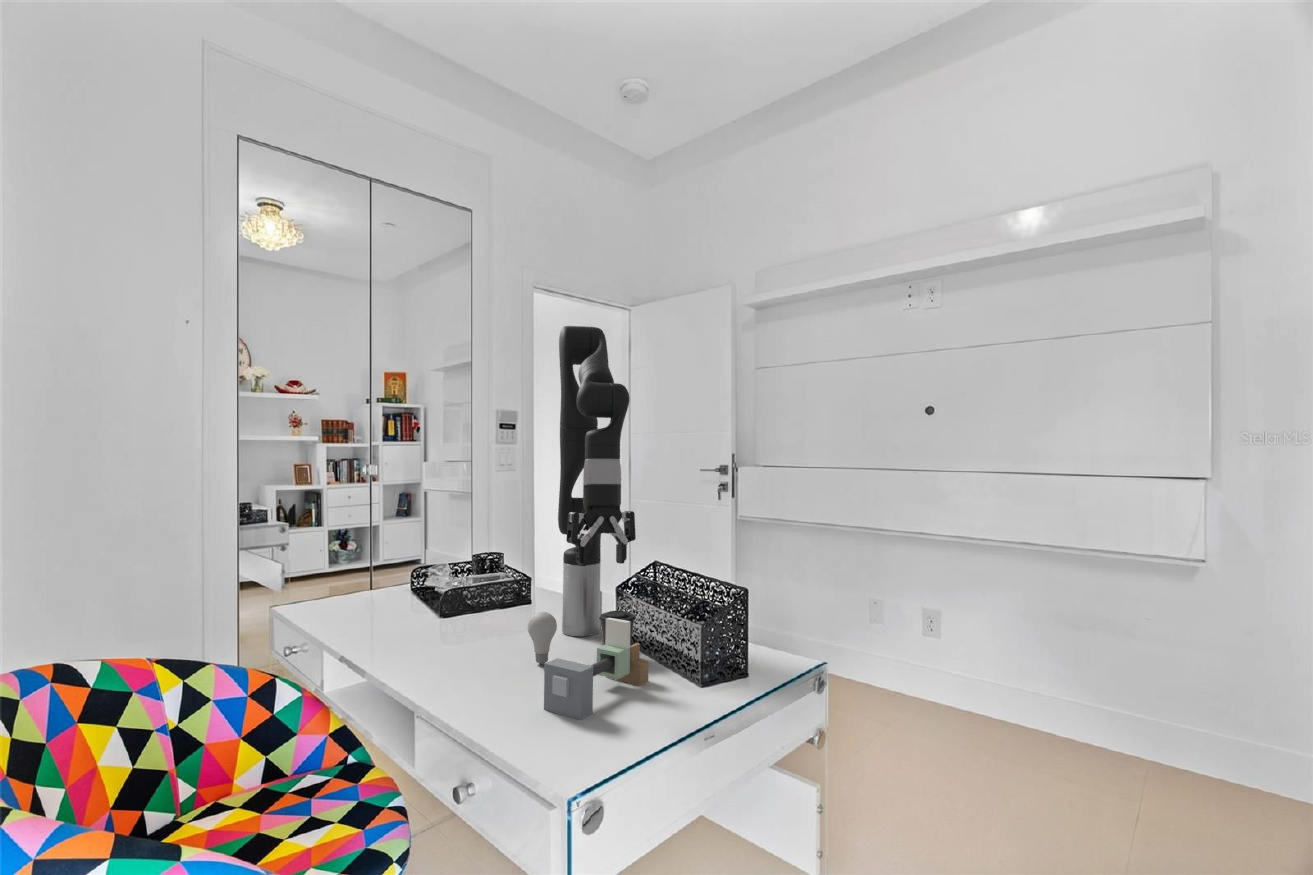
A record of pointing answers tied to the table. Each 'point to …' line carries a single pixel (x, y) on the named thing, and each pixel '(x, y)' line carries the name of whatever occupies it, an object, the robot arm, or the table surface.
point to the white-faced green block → (616, 648)
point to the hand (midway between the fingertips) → (601, 564)
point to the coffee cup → (616, 615)
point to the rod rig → (584, 682)
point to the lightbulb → (542, 634)
